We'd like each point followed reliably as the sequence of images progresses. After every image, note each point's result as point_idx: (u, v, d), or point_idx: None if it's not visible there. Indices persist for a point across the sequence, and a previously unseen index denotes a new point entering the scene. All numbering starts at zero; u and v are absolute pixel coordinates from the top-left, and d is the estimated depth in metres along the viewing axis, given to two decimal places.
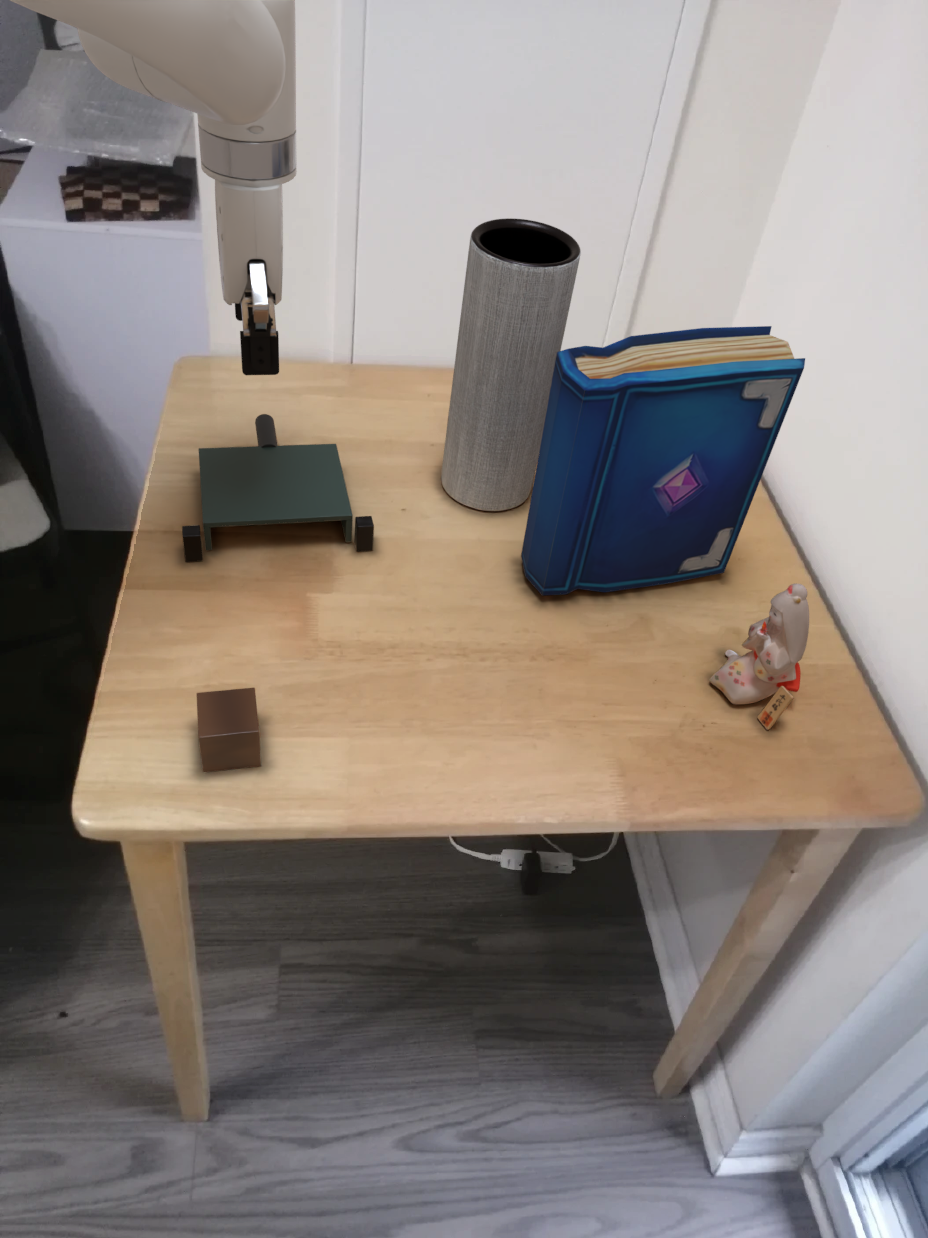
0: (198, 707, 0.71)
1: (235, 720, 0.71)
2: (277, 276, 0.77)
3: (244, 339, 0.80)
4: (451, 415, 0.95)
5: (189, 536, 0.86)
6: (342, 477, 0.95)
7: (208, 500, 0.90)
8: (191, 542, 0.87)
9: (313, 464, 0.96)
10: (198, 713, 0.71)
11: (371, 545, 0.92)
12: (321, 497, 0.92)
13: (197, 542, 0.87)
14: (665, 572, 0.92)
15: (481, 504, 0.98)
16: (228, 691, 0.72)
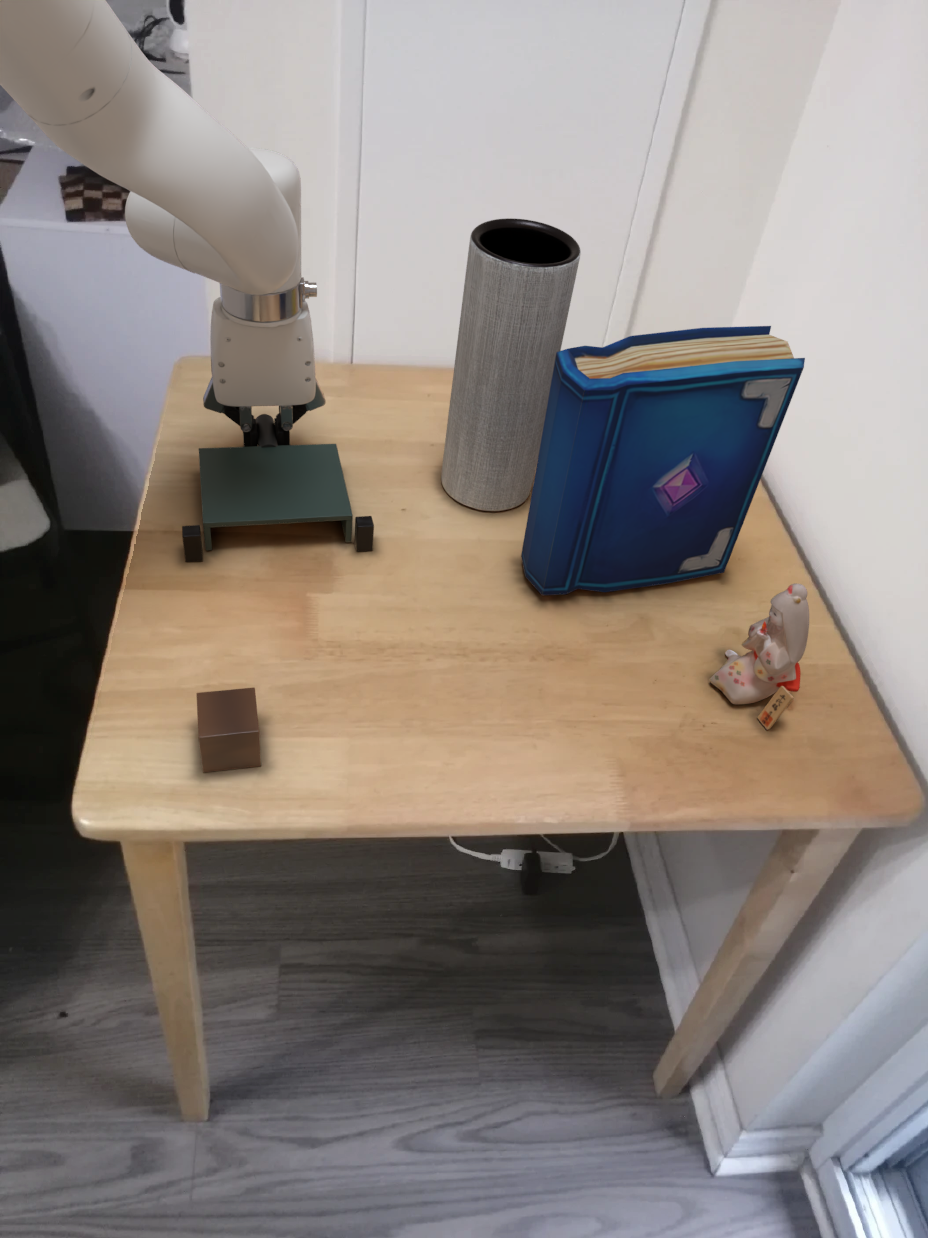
0: (198, 707, 0.71)
1: (235, 720, 0.71)
2: (214, 380, 0.92)
3: None
4: (451, 415, 0.95)
5: (189, 536, 0.86)
6: (342, 477, 0.95)
7: (208, 500, 0.90)
8: (191, 542, 0.87)
9: (313, 464, 0.96)
10: (198, 713, 0.71)
11: (371, 545, 0.92)
12: (321, 497, 0.92)
13: (197, 542, 0.87)
14: (666, 571, 0.92)
15: (481, 504, 0.98)
16: (228, 691, 0.72)
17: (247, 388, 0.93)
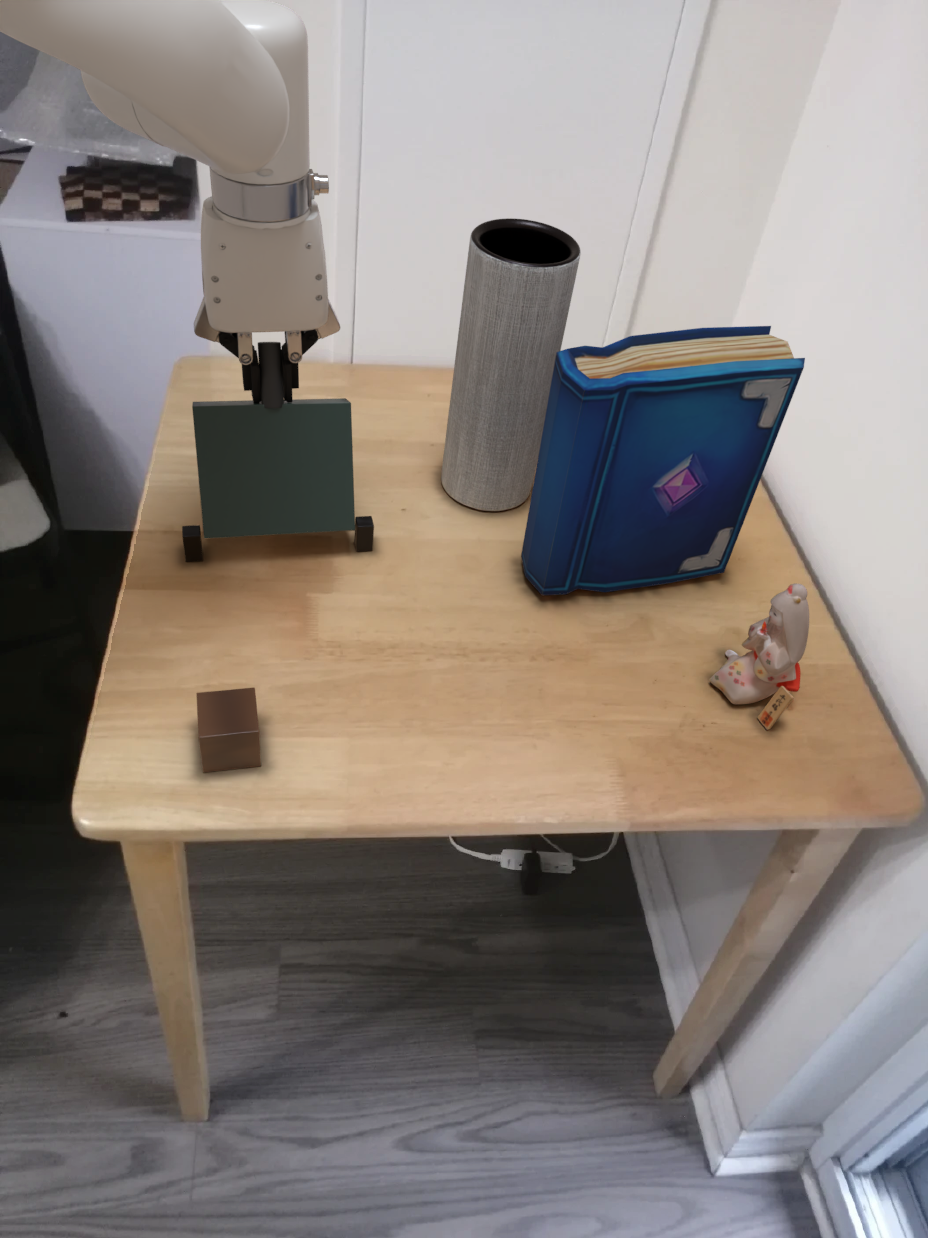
0: (198, 707, 0.71)
1: (235, 720, 0.71)
2: (206, 299, 0.76)
3: None
4: (451, 415, 0.95)
5: (189, 536, 0.86)
6: (351, 467, 0.88)
7: (208, 503, 0.85)
8: (191, 542, 0.87)
9: (322, 441, 0.86)
10: (198, 713, 0.71)
11: (371, 545, 0.92)
12: (326, 501, 0.88)
13: (197, 542, 0.87)
14: (665, 571, 0.92)
15: (481, 504, 0.98)
16: (228, 691, 0.72)
17: (247, 309, 0.77)
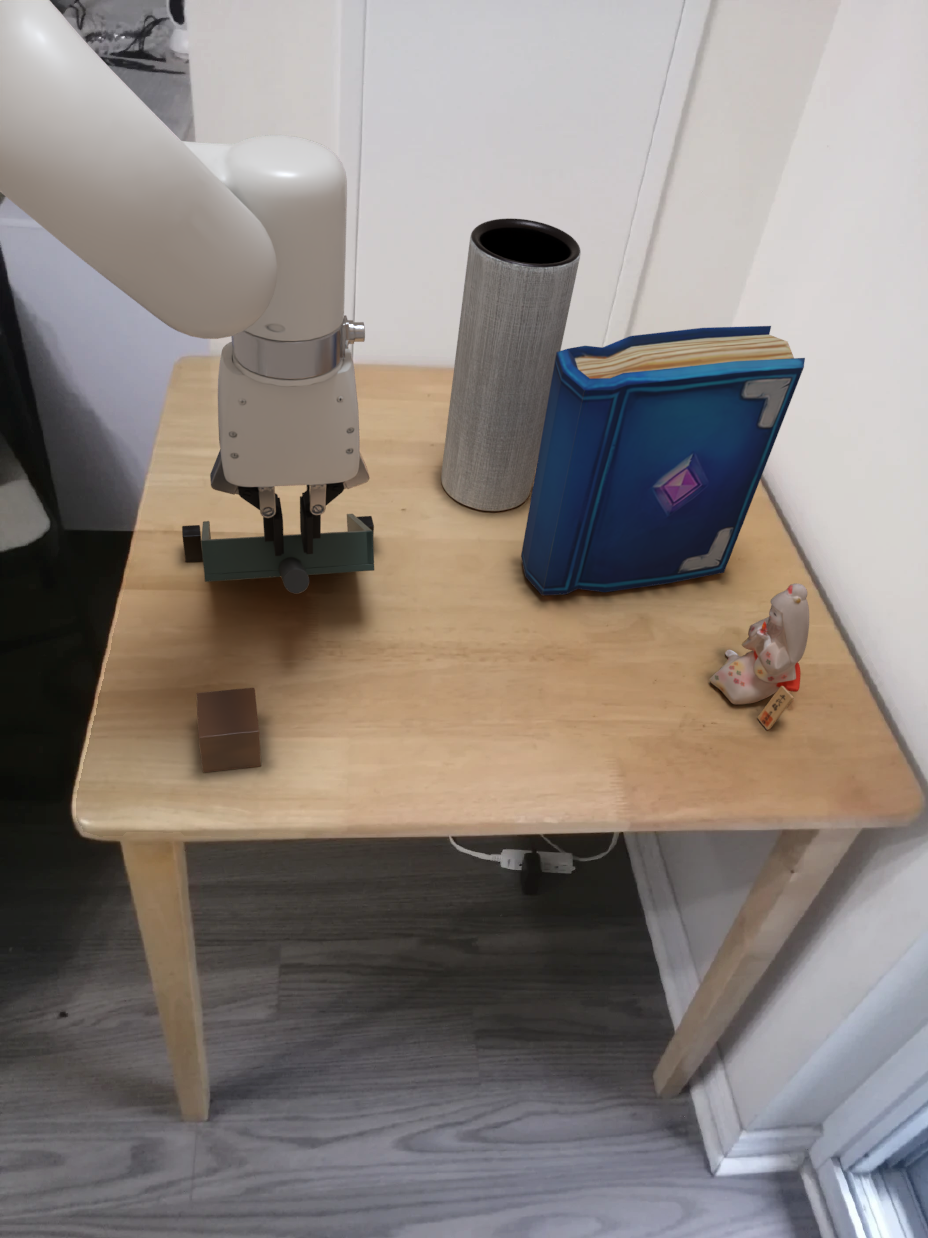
0: (198, 707, 0.71)
1: (235, 720, 0.71)
2: (222, 454, 0.67)
3: None
4: (451, 415, 0.95)
5: (189, 536, 0.86)
6: None
7: None
8: (191, 542, 0.87)
9: None
10: (198, 713, 0.71)
11: None
12: None
13: (197, 542, 0.87)
14: (665, 571, 0.92)
15: (481, 504, 0.98)
16: (228, 691, 0.72)
17: (268, 464, 0.68)
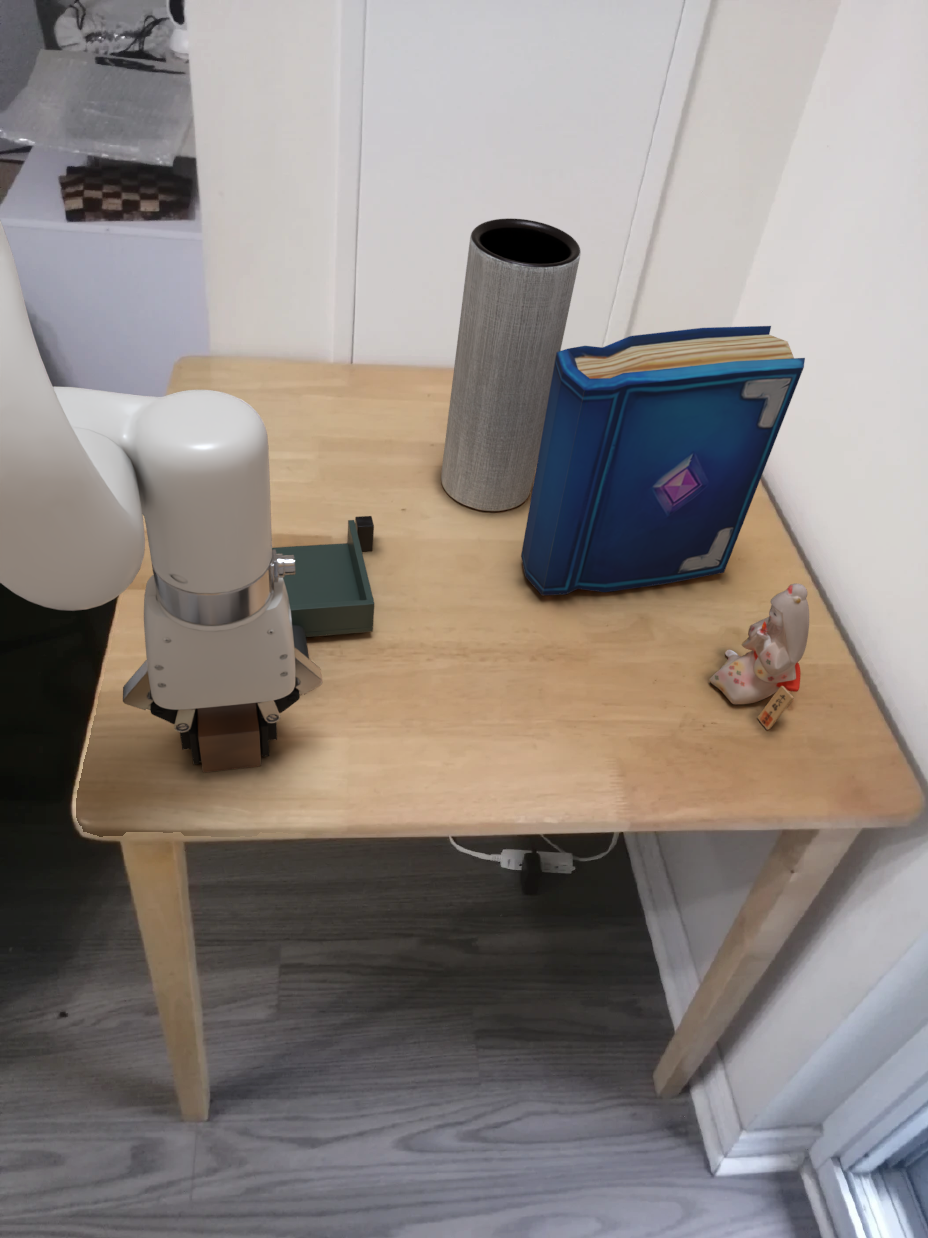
0: None
1: (235, 720, 0.71)
2: (150, 683, 0.65)
3: None
4: (451, 415, 0.95)
5: None
6: None
7: None
8: None
9: None
10: (198, 713, 0.71)
11: (371, 545, 0.92)
12: None
13: None
14: (665, 571, 0.92)
15: (481, 504, 0.98)
16: None
17: (198, 691, 0.65)
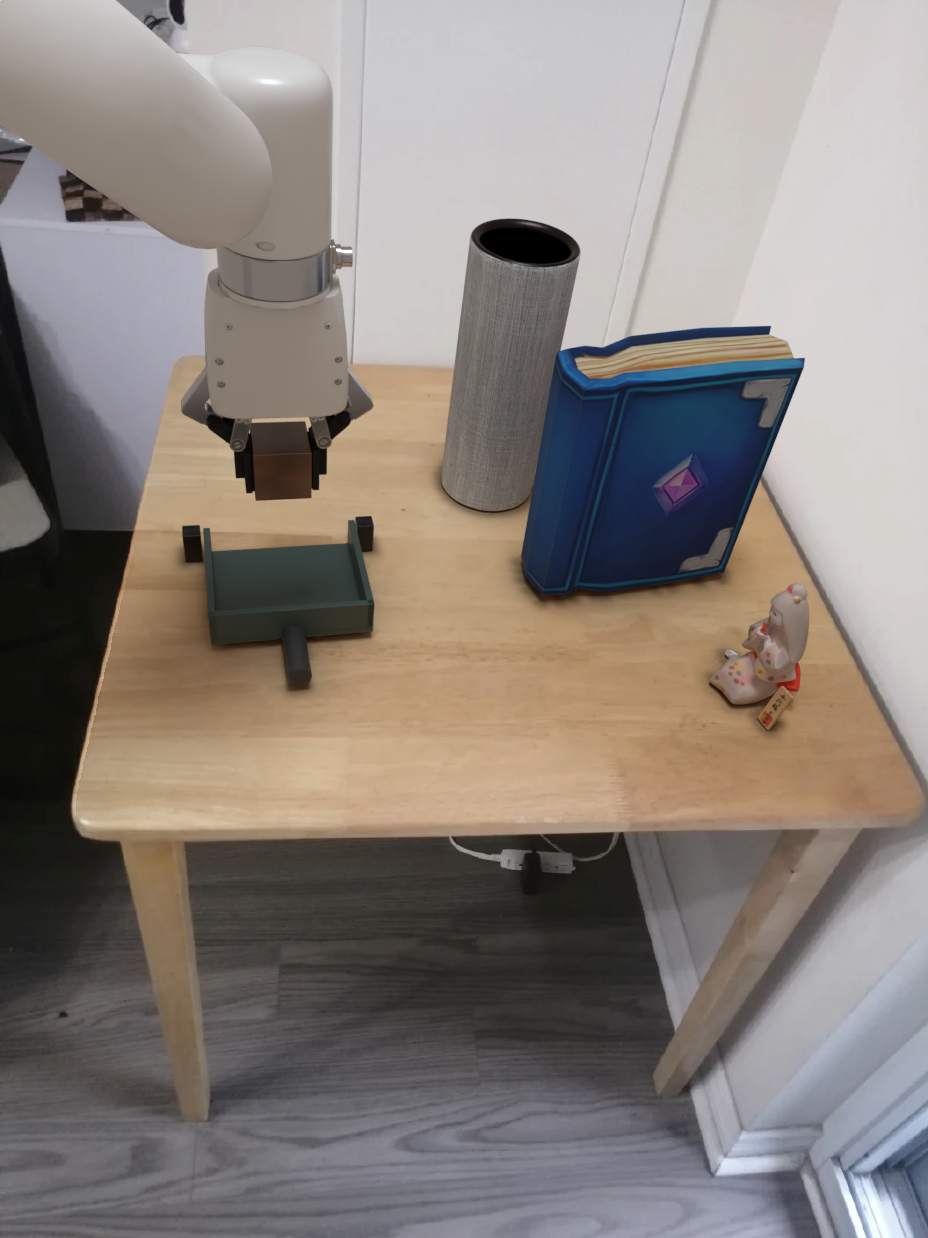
0: (251, 433, 0.73)
1: (288, 444, 0.72)
2: (209, 383, 0.67)
3: None
4: (451, 415, 0.95)
5: (189, 536, 0.86)
6: None
7: None
8: (191, 542, 0.87)
9: None
10: (252, 437, 0.73)
11: (371, 545, 0.92)
12: None
13: (197, 542, 0.87)
14: (665, 571, 0.92)
15: (481, 504, 0.98)
16: (280, 422, 0.74)
17: (255, 394, 0.67)
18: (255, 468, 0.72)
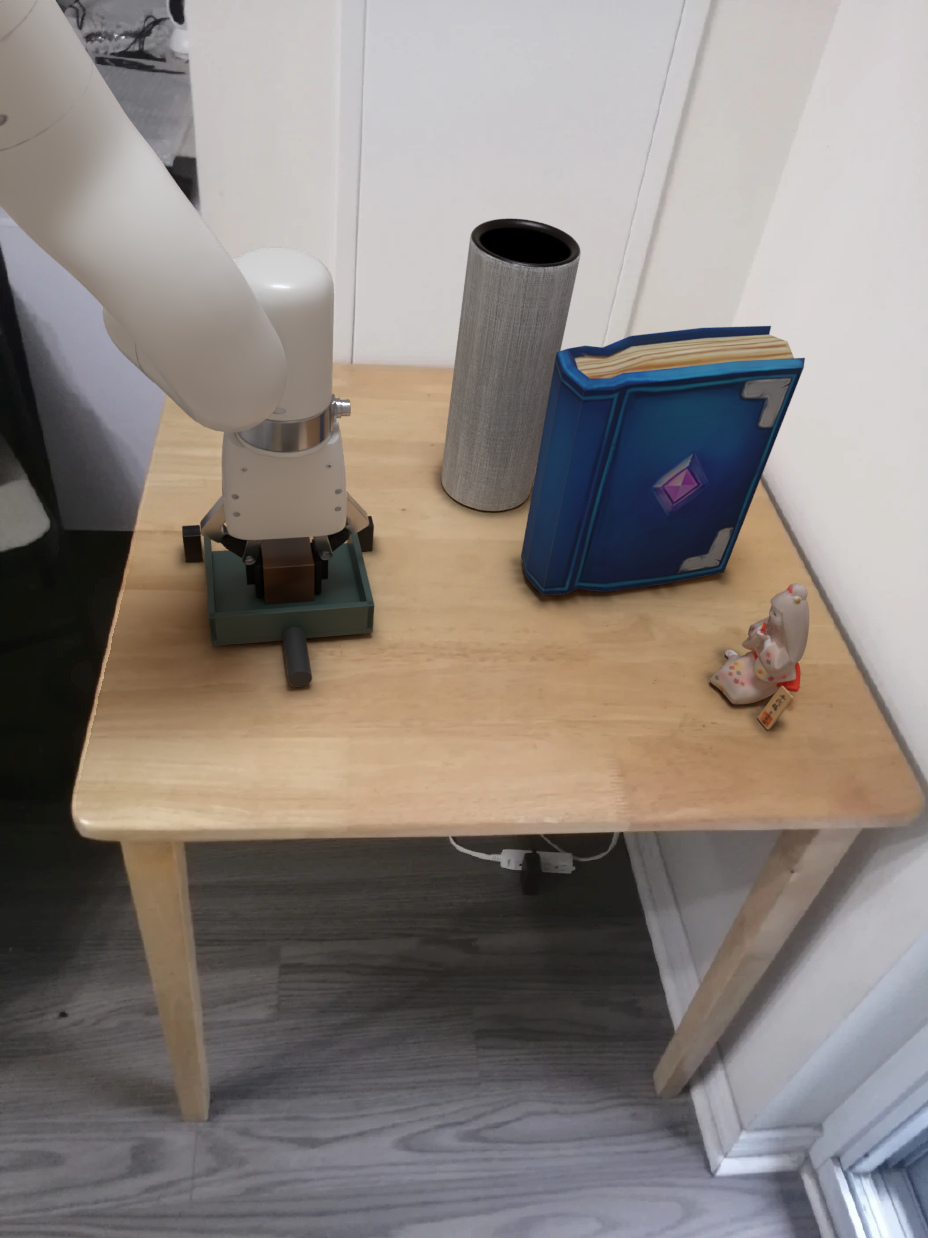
0: (261, 546, 0.83)
1: (294, 556, 0.83)
2: (226, 512, 0.77)
3: None
4: (451, 415, 0.95)
5: (189, 536, 0.86)
6: None
7: None
8: (191, 542, 0.87)
9: None
10: (262, 550, 0.83)
11: (371, 545, 0.92)
12: None
13: (197, 542, 0.87)
14: (665, 571, 0.92)
15: (481, 504, 0.98)
16: None
17: (266, 521, 0.77)
18: (265, 578, 0.82)
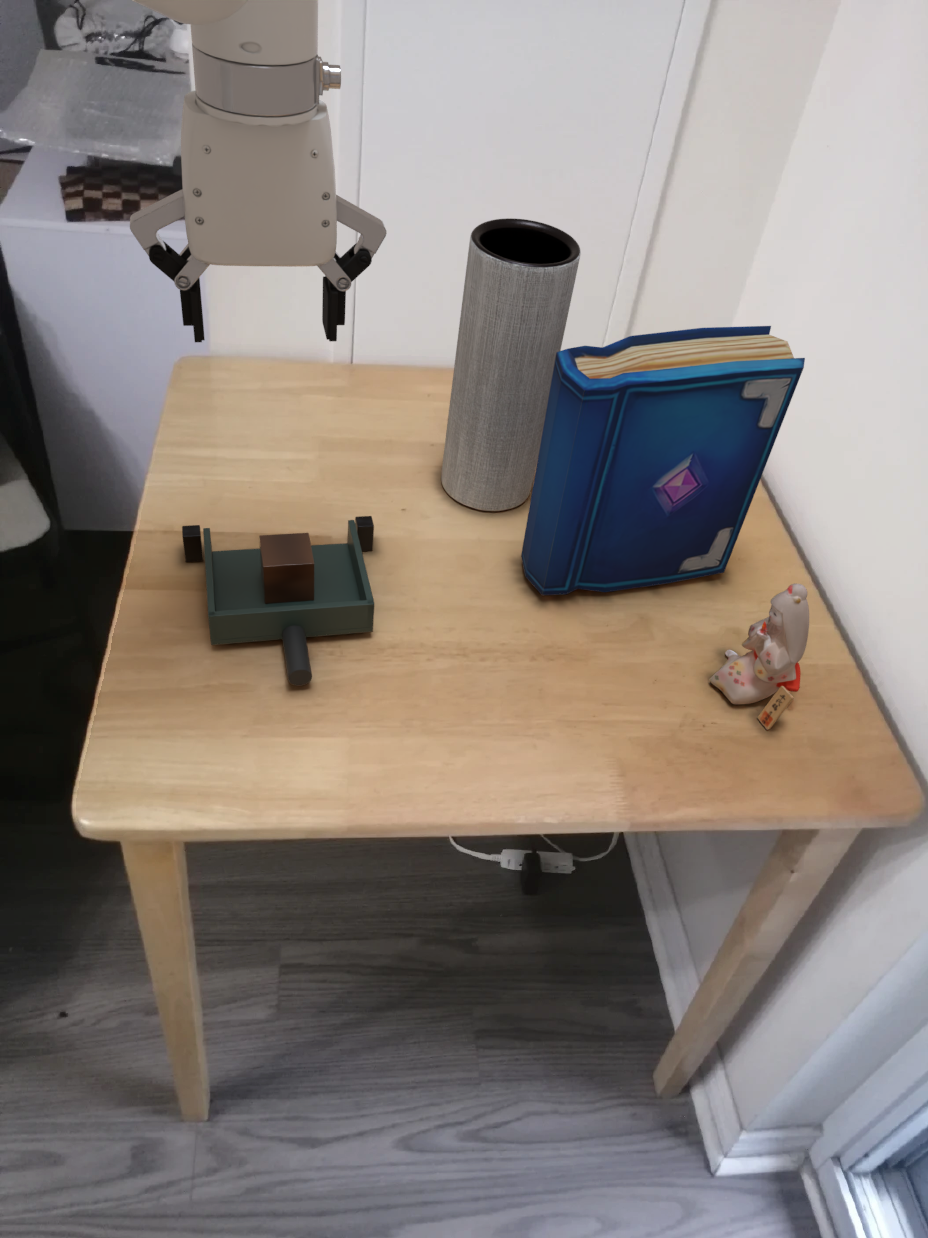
0: (261, 545, 0.83)
1: (293, 555, 0.83)
2: (186, 220, 0.62)
3: None
4: (451, 415, 0.95)
5: (189, 536, 0.86)
6: None
7: None
8: (191, 542, 0.87)
9: None
10: (262, 549, 0.83)
11: (371, 545, 0.92)
12: None
13: (197, 542, 0.87)
14: (665, 571, 0.92)
15: (481, 504, 0.98)
16: (286, 534, 0.84)
17: (236, 234, 0.63)
18: (265, 577, 0.82)
